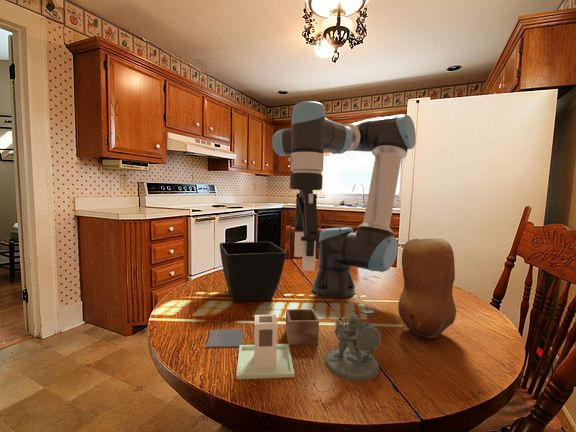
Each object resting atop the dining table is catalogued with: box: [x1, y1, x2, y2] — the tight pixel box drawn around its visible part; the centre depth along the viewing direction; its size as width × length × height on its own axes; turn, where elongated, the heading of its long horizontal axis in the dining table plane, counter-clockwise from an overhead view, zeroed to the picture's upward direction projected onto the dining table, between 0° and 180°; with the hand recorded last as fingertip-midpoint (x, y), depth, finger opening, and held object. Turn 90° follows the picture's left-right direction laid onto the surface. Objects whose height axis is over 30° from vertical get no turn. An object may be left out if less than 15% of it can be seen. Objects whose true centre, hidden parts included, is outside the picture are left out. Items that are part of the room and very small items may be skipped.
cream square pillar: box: [253, 314, 278, 368], centre depth 60 cm, size 5×5×9 cm
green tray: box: [235, 343, 295, 380], centre depth 61 cm, size 11×11×1 cm
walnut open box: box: [284, 308, 320, 347], centre depth 71 cm, size 7×7×6 cm
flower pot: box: [219, 241, 287, 304], centre depth 99 cm, size 19×19×17 cm
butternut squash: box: [397, 238, 457, 339], centre depth 74 cm, size 14×13×25 cm
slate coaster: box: [205, 328, 245, 349], centre depth 70 cm, size 8×8×1 cm
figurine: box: [325, 307, 382, 382], centre depth 60 cm, size 11×11×12 cm
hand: (303, 263), depth 70 cm, fingers open, 13 cm apart
